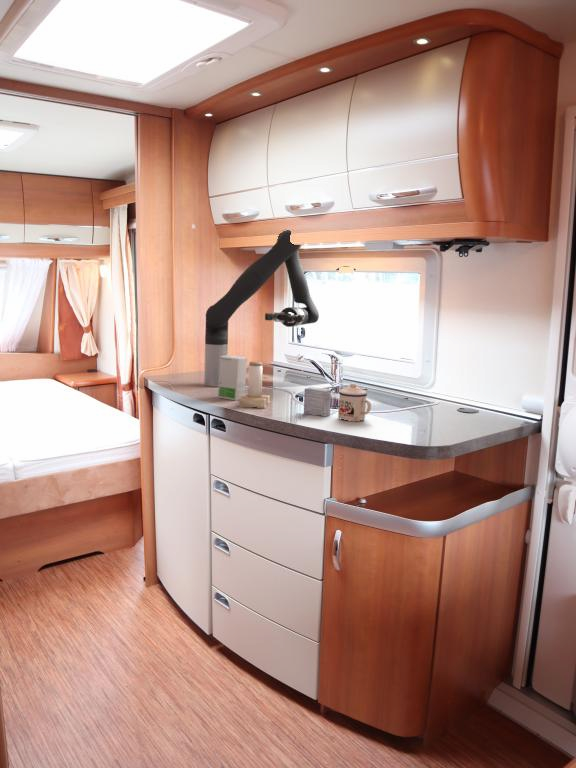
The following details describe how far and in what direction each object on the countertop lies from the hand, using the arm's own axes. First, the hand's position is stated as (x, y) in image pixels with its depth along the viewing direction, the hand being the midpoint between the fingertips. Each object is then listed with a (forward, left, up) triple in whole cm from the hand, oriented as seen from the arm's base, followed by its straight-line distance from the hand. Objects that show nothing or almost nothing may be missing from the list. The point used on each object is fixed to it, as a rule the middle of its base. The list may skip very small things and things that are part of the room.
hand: (277, 318), depth 227 cm
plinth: (+17, -4, -30) cm, 35 cm away
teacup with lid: (+28, +32, -30) cm, 52 cm away
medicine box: (+24, +19, -30) cm, 43 cm away
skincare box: (+7, -15, -30) cm, 34 cm away
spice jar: (+17, -4, -27) cm, 32 cm away
